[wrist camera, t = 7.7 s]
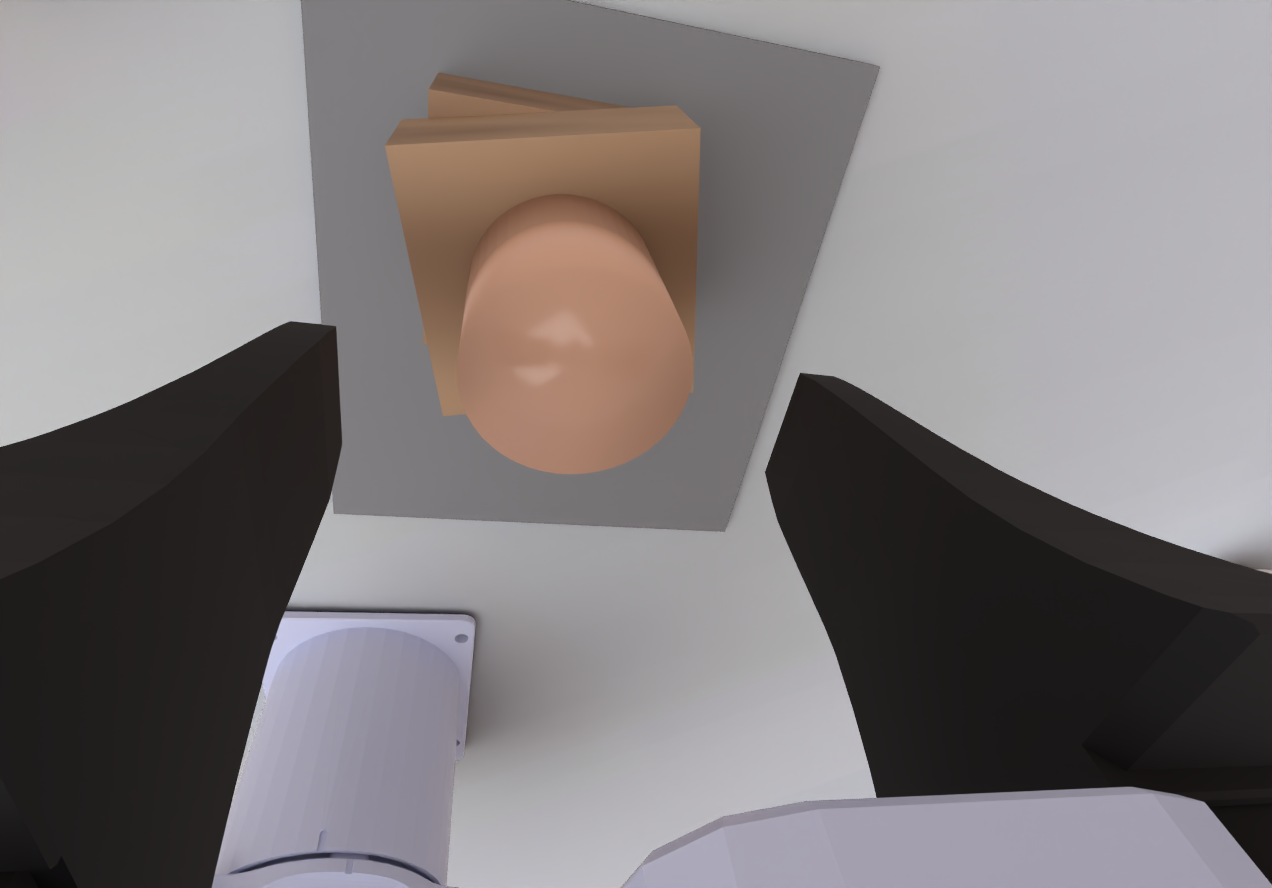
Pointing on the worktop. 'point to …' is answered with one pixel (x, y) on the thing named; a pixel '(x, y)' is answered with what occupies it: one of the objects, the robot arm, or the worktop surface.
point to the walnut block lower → (496, 101)
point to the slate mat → (726, 246)
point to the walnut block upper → (533, 167)
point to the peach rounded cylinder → (570, 339)
